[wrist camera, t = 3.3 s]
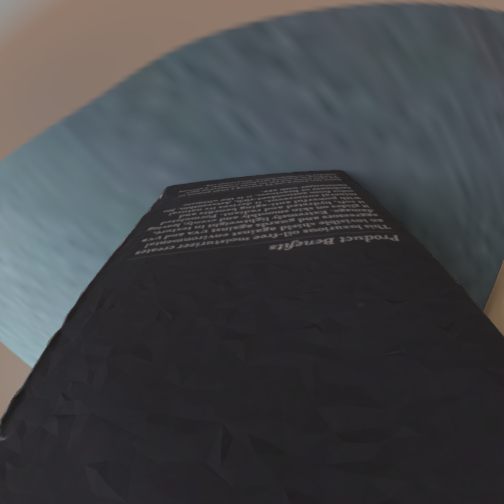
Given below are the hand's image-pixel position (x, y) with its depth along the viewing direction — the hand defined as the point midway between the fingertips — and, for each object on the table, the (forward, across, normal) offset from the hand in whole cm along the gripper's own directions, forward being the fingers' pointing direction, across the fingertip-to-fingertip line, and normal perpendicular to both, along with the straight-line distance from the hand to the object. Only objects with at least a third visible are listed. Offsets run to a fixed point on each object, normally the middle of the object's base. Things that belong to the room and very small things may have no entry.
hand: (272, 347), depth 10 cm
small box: (+3, 0, 0) cm, 3 cm away
